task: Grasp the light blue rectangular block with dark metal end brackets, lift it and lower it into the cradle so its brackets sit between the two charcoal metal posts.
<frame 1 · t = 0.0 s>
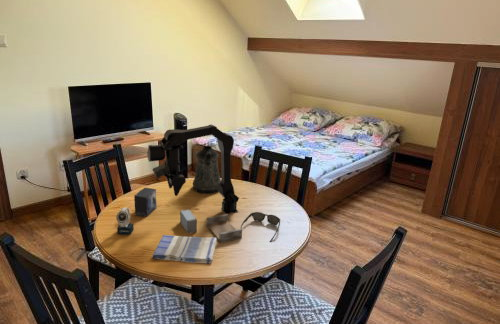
hand: (173, 191, 156), 15 cm above the table, tool pointing down, fingers open, 9 cm apart
cradle: (223, 231, 153), on the table
dish towel: (186, 251, 139), on the table
watch: (125, 232, 149), on the table
sunglasses: (260, 231, 157), on the table
small box: (146, 212, 168), on the table
light blue rectangular block: (188, 227, 156), on the table
beer stein: (208, 189, 198), on the table
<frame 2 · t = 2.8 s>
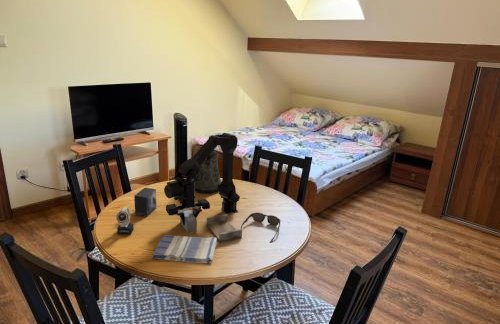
hand: (188, 223, 155), 2 cm above the table, tool pointing down, fingers closed on light blue rectangular block, 4 cm apart
light blue rectangular block: (188, 226, 156), on the table, touching gripper
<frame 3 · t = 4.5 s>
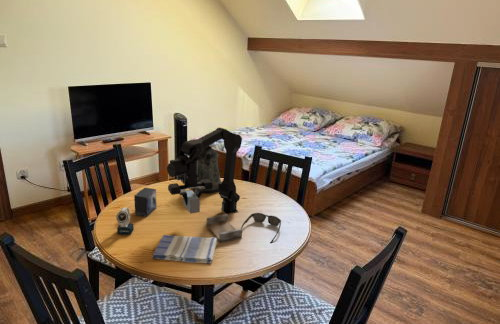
hand: (191, 204, 152), 11 cm above the table, tool pointing down, fingers closed on light blue rectangular block, 4 cm apart
light blue rectangular block: (191, 207, 153), point 10 cm above the table, touching gripper
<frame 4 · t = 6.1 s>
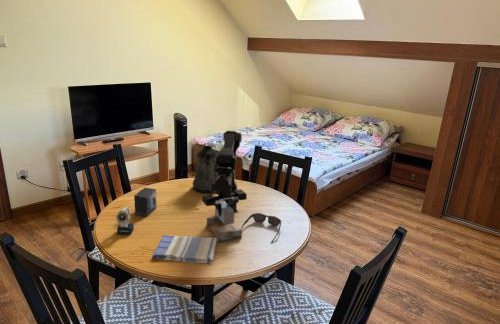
hand: (224, 215, 151), 8 cm above the table, tool pointing down, fingers closed on light blue rectangular block, 4 cm apart
light blue rectangular block: (224, 218, 151), point 7 cm above the table, touching gripper
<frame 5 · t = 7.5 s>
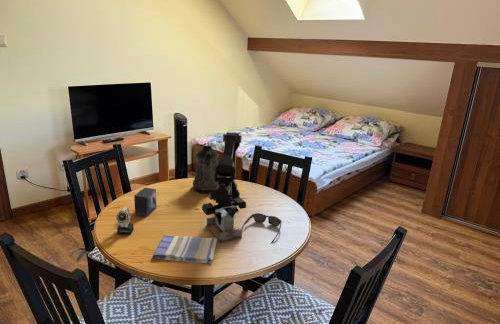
hand: (223, 223, 152), 4 cm above the table, tool pointing down, fingers closed on light blue rectangular block, 4 cm apart
light blue rectangular block: (223, 226, 153), point 2 cm above the table, touching gripper
when the fingers open (4 cm above the table, at t = 7.5 s): light blue rectangular block drops 1 cm, resting on cradle.
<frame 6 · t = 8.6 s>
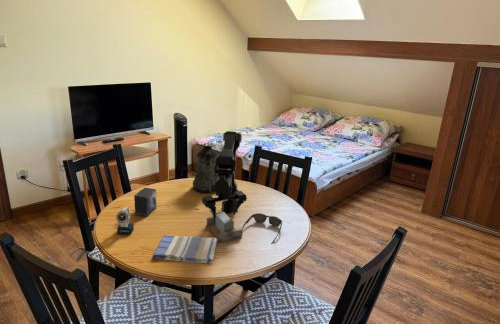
hand: (224, 216, 151), 7 cm above the table, tool pointing down, fingers open, 9 cm apart
light blue rectangular block: (223, 229, 153), point 1 cm above the table, touching cradle
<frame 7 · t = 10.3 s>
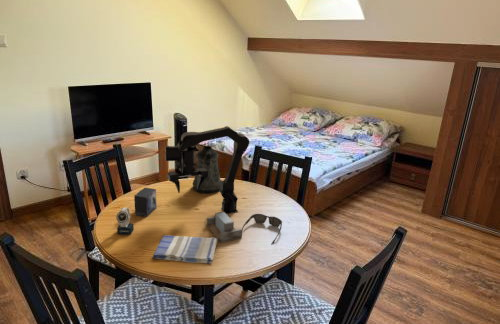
hand: (188, 191, 164), 12 cm above the table, tool pointing down, fingers open, 9 cm apart
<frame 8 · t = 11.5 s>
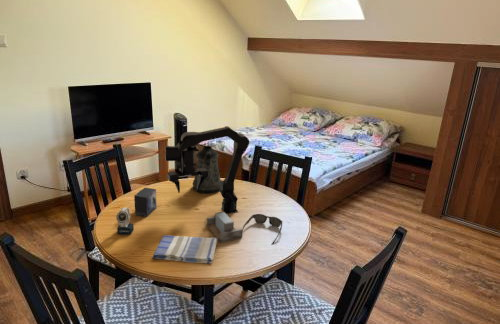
hand: (188, 191, 164), 12 cm above the table, tool pointing down, fingers open, 9 cm apart
at the end: light blue rectangular block 0.0 cm off-centre on the cradle, point 1.0 cm above the cradle's base; light blue rectangular block tilted 0°; the gripper is holding nothing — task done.
